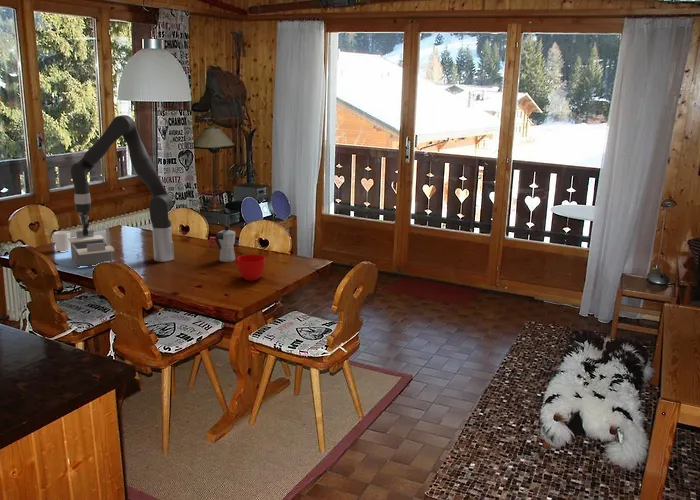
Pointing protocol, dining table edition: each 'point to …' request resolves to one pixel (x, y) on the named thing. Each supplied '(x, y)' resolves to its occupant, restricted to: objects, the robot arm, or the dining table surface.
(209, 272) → the dining table surface
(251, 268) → the ceramic cup
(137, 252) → the dining table surface
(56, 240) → the white cup
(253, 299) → the dining table surface
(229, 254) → the coffee maker
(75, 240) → the far panel
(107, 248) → the near panel
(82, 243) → the box
